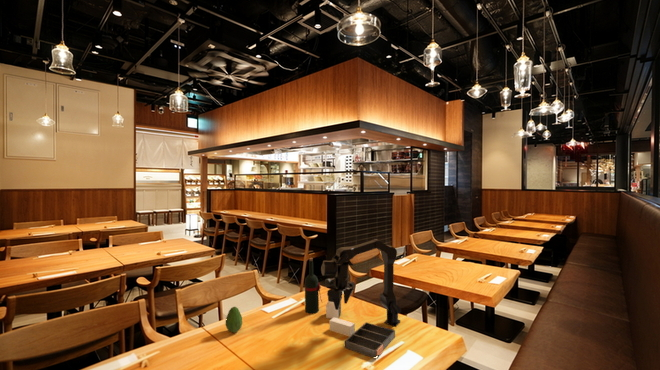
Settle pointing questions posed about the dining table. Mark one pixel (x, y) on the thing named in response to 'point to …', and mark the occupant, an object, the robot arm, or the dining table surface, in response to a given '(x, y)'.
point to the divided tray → (370, 339)
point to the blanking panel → (342, 326)
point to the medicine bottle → (332, 309)
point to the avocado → (234, 320)
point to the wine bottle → (311, 291)
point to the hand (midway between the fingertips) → (341, 306)
